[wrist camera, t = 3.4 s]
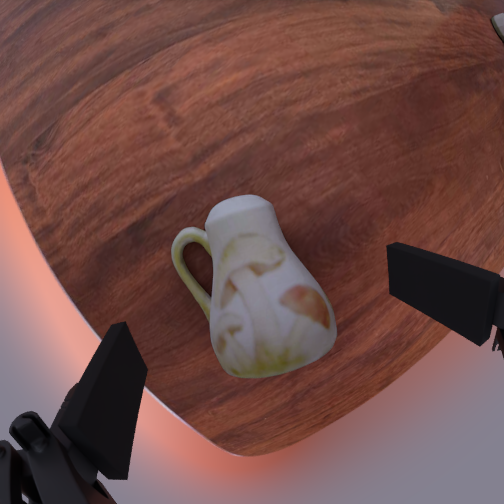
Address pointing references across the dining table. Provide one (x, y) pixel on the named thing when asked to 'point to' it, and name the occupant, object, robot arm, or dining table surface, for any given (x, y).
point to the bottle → (499, 24)
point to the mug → (257, 292)
